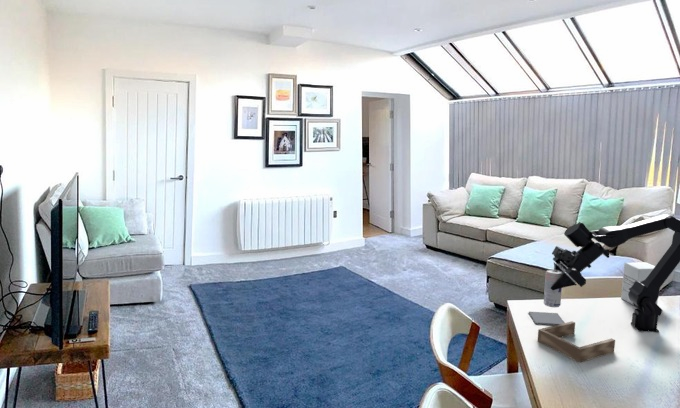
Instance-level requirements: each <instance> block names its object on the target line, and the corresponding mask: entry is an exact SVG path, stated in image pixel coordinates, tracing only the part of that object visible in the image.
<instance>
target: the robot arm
mask: <svg viewBox="0 0 680 408" xmlns="http://www.w3.org/2000/svg"><path fill="white" fill-rule="evenodd" d="M665 229H669V230H671V231H673V232H674V233H673V235H672V240H671V245H670V246H669V247H668V249H667V250H666V252H664V254H663V255H662V257H661V258H660V259H659V261H658V262H657V264H655V265H654V266H655V267H654V269H653V270H652V271H651V273H650V274H649V275H648V277H647V278H646V279H645V280H643V281H641V282H639V281H637V280H636V281H635V282H634V284H633V286H632V287H631V288H629V290H630V291H629V293H628V296H629V299H630V301H632V302H633V305H632V306H633V307H635V308H634V312H633V313H632V317H631V322H630V325H631V326H632V327H634V329H635V330H637V331H638V332H648V333H650V332H651V333H660V330H659V329H658V320H659V317H660V316H661V315H662V313H663V309H662V308H661V307H660V306H659V305H658V303H657V304H656V301H657V299H658V300H659V296H660V291H661V287H662V286H663V285H664V283H665V282H666V281H667V279H668V278H669V277H670V276H671V274H672V273H673V271H674V270H675V269H676V267H677V266H678V265H679V264H680V219H678V218H676V217H675V216H673V215H669V214H667V213H663V214H661V215H658V216H655V217H651V218H648V219H643V220H640V221H637V222H633V223H629V224H626V225H611V226H609V225H608V226H603V227H601V228H599V229H597V230H589V229H588V228H587V227H586V225H585V224H584V223H583V222H582V221H579V222H578V223H575V224H573V225H571V226H569V227H567V228H566V230H565V231H564V236H565V237H566V238H567V239H568V240H569V242H571V243H572V244H573V246H575V247H576V248H580V249H578V250H577V251H576V250H572V251H570V250H568V249H566V248H565V249H564V248H561V247H559V246H558V245H556V246H555V247H554V249H553V250H552V253H551V255H553V258H552V260H553V269H554V270H559V271H561V272H562V273H561V277H560V278H559V279H558V280H557V281H556V282H555V283H554V284H553V285H552V286H551V289H552V290H556V289H560V288H562V289H563V288H567V287H572V286H577V285H578V286H579V287H580V288H583V286H585V285H586V282H587V279H586V278H585V277H584V276H583V275H582V271H584V270H585V269H586V268H588V269H590V268H592V263H594V262H595V261H596V260H597V259H598V258H600V257H601V256H602V255H603V256H604V257H606V258H607V259H608V258H610V252H611V251H610V249H609V248H616V247H618V246H621V245H622V244H625V243H626V242H627V241H629V240H630V239H633V238H636V237H640V236H644V235H648V234H651V233H656V232H659V231H662V230H665ZM593 240H595V241H596V242H595V241H593ZM603 245H604V246H606V247H604V246H603Z"/></svg>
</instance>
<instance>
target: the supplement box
mask: <svg viewBox="0 0 680 408" xmlns="http://www.w3.org/2000/svg"><path fill="white" fill-rule="evenodd" d="M655 266H656V265H653V264H650V263H649V262H646V261H643V262H642V261H639V262H638V261H637V262H636V261H635V262H624V266H623V274H622V275H623V276H622V284H621V285H622V286H621V294H620V295H621V297H620V298H621V299H622V300H623V301H625V302H627V303H629V304H631V305H632V306H634V305H633V302H632V301H630V299H629V296H628V293H629V291H630V290H629V288H631V287H632V286H633V284H634V282H635V281H636V280H637V281H639V282H641V281H643V280H645V279H646V278H647V277H648V275H649V274H650V273H651V271H652V270H653V269H654V267H655ZM658 300H659V298H658V299H657V301H656V304H657V305H658Z"/></svg>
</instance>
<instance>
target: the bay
mask: <svg viewBox="0 0 680 408" xmlns="http://www.w3.org/2000/svg"><path fill="white" fill-rule="evenodd" d="M537 331H538V333H537V342H538V343H541V344H543V345H544V346H546V347H548V348H550V349H552V350H553V351H556V352H558V353H560V354H562V355H564V356H565V357H568V358H569V359H571V360H574V362H577V363H581V362H586V361H589V360H592V359H596V358H599V357H603V356H607V355H610V354H612V353H615V346H616V339H614V338H609V339H608V338H607V339H604V340H601V341H597V342H594V343H589V344H586V345H582V346H578V345H577V344H573V343H571V342H570V341H567V340H565V339H563V338H564V337H567V336H568V337H570V336H572V335H573V336H574V335H575V331H576V322H575V321H568V322H565V323H563V324H559V325H549V326H546V327H543V328H538V330H537Z"/></svg>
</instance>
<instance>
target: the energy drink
mask: <svg viewBox="0 0 680 408" xmlns="http://www.w3.org/2000/svg"><path fill="white" fill-rule="evenodd" d="M561 273H562V272H561V271H559V270H554V268H553V269H546V271H545V278H544V279H545V280H544V291H543V292H544V294H543V305H545V306H546V307H549V308H559V307H560V306H561V304H562V303H561V301H562V291H563V288H560V289H556V290H552V289H551V286H552V285H553V284H554V283H555V282H556V281H557V280H558V279H559V278H560V277H561Z"/></svg>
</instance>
